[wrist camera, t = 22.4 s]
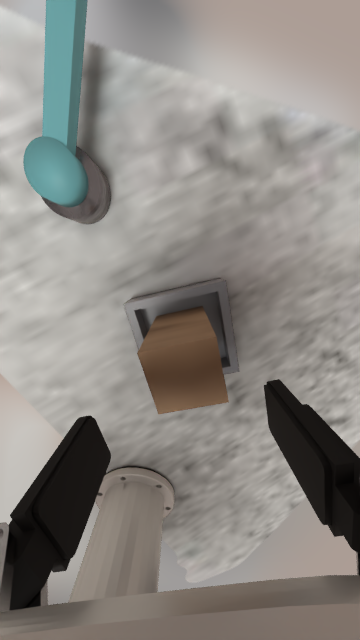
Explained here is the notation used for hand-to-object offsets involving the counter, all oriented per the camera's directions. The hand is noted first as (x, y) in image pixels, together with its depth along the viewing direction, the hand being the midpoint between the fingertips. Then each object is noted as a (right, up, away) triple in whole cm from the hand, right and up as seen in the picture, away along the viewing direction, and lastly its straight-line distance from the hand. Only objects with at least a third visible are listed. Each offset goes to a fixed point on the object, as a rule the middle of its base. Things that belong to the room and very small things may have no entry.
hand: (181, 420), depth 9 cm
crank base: (-9, +17, +6) cm, 20 cm away
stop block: (0, +4, +10) cm, 10 cm away
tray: (0, +4, +10) cm, 11 cm away
